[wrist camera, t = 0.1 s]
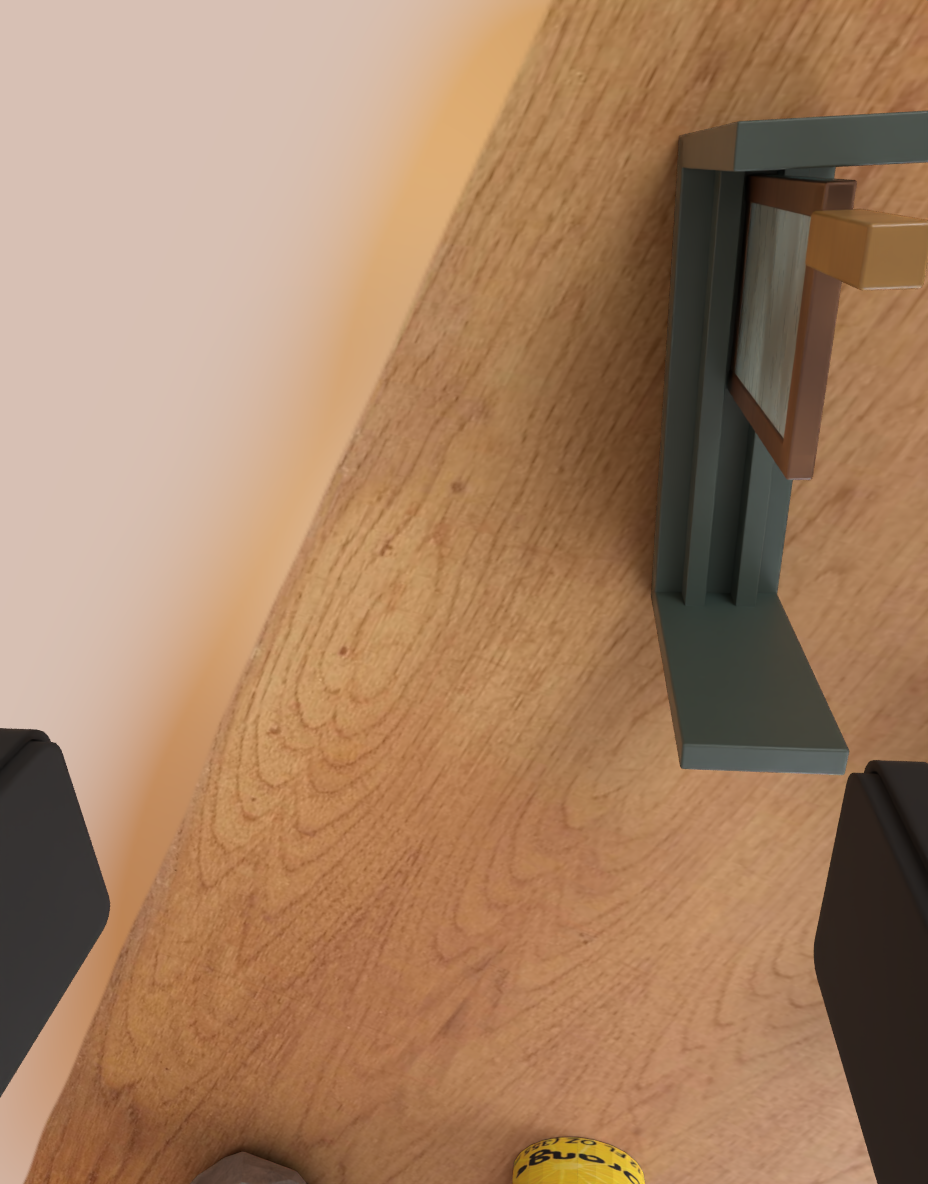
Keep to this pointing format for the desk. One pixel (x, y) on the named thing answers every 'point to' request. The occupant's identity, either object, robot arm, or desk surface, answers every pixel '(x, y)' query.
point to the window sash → (806, 299)
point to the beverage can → (575, 1163)
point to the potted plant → (247, 1172)
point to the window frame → (738, 464)
